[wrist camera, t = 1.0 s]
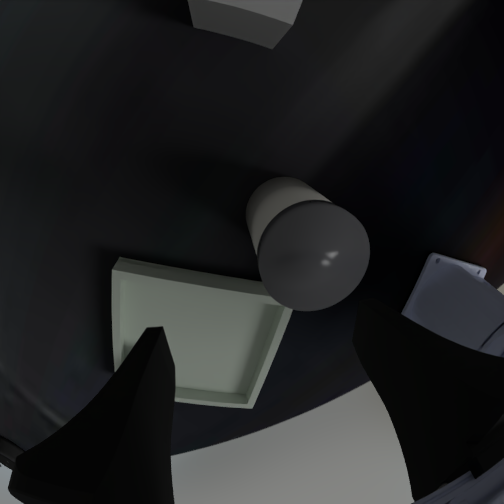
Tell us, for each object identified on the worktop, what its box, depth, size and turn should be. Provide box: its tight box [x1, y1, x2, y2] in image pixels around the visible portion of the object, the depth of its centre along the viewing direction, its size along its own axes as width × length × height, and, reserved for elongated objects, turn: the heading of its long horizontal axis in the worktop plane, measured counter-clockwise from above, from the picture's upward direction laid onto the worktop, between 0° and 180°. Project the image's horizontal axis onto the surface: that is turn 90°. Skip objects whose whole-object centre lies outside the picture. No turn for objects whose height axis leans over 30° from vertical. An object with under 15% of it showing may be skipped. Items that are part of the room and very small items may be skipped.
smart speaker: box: [0, 437, 25, 470], centre depth 29 cm, size 9×9×4 cm
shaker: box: [246, 177, 370, 311], centre depth 16 cm, size 5×5×7 cm
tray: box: [112, 257, 293, 408], centre depth 21 cm, size 12×12×2 cm
